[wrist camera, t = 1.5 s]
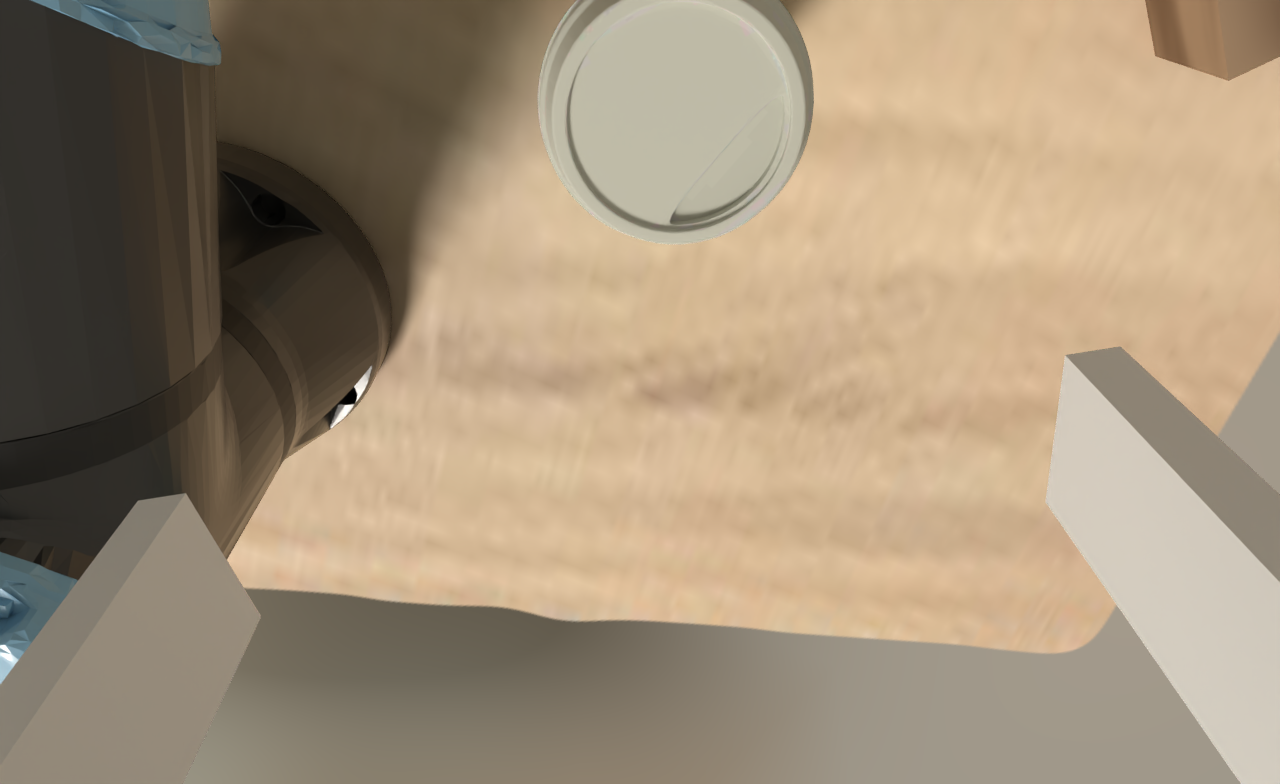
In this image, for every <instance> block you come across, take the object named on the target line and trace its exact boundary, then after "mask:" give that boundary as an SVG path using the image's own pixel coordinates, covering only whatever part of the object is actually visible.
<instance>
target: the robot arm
mask: <svg viewBox="0 0 1280 784" xmlns="http://www.w3.org/2000/svg"><path fill="white" fill-rule="evenodd" d="M219 64H221V48H220V43H219V41H218V40H217V39H216V38H215V37H214V35H213V34H212V29H211V20H210V11H209V2H208V0H0V784H183V783H184V781H185V778H186V776H187V774H188V772H189V770H190V768H191V765H192V763H193V761H194V759H195V757H196V754H197V753H198V750H199V748H200V746H201V744H202V742H203V740H204V738H205V736H206V733H207V731H208V729H209V727H210V725H211V723H212V721H213V718H214V716H215V714H216V712H217V710H218V708H219V706H220V703H221V701H222V699H223V697H224V695H225V693H226V691H227V688H228V686H229V684H230V682H231V680H232V678H233V676H234V674H235V671H236V669H237V667H238V665H239V663H240V661H241V659H242V656H243V654H244V652H245V650H246V648H247V646H248V643H249V641H250V639H251V637H252V635H253V633H254V631H255V629H256V626H257V624H258V622H259V620H260V618H261V616H260V614H259V612H258V611H257V609H256V607H255V606H254V604H253V602H252V601H251V599H250V598H249V596H248V594H247V593H246V591H245V589H244V588H243V586H242V584H241V583H240V581H239V579H238V578H237V576H236V575H235V573H234V571H233V570H232V568H231V566H230V565H229V563H228V561H227V558H228V557H229V555H230V553H231V551H232V550H233V548H234V546H235V544H236V543H237V541H238V539H239V537H240V536H241V534H242V532H243V530H244V529H245V527H246V525H247V523H248V522H249V520H250V518H251V516H252V515H253V513H254V511H255V510H256V508H257V506H258V504H259V503H260V501H261V499H262V497H263V496H264V494H265V492H266V490H267V489H268V487H269V485H270V483H271V482H272V480H273V478H274V476H275V474H276V472H277V471H278V469H279V467H280V466H281V464H282V462H283V461H284V460H285V459H286V458H288V457H289V456H291V455H292V454H294V453H295V452H297V451H298V450H300V449H301V448H303V447H304V446H306V445H307V444H309V443H310V442H312V441H313V440H315V439H316V438H318V437H319V436H321V435H322V434H324V433H325V432H327V431H328V430H330V429H331V428H333V427H334V426H335V425H337V424H338V423H339V422H341V421H342V420H343V419H344V418H345V417H347V416H348V415H349V414H350V413H351V412H352V411H353V410H354V408H355V407H356V406H357V405H358V404H359V403H360V401H361V400H362V399H363V397H364V396H365V394H366V393H367V391H368V390H369V388H370V386H371V384H372V382H373V380H374V378H375V376H376V374H377V372H378V370H379V368H380V366H381V364H382V362H383V360H384V357H385V355H386V352H387V349H388V345H389V340H390V334H391V322H392V315H391V303H390V296H389V291H388V287H387V283H386V280H385V277H384V274H383V271H382V269H381V266H380V264H379V262H378V259H377V257H376V255H375V253H374V251H373V250H372V248H371V246H370V244H369V243H368V241H367V239H366V238H365V236H364V235H363V233H362V232H361V231H360V229H359V228H358V227H357V225H356V224H355V223H354V221H353V220H352V219H351V218H350V217H349V215H348V214H347V213H346V212H345V211H344V210H343V209H342V208H341V207H340V206H339V205H338V204H337V203H336V202H335V201H334V200H333V199H332V198H331V197H330V196H329V195H328V194H326V193H325V192H324V191H323V190H321V189H320V188H319V187H318V186H317V185H315V184H314V183H312V182H311V181H310V180H308V179H307V178H305V177H304V176H302V175H301V174H299V173H297V172H296V171H294V170H293V169H291V168H289V167H287V166H285V165H284V164H282V163H280V162H278V161H276V160H273V159H271V158H269V157H267V156H264V155H262V154H259V153H257V152H254V151H251V150H248V149H245V148H242V147H238V146H234V145H230V144H226V143H220V142H216V103H215V65H219ZM1046 503H1047V505H1048V506H1049V508H1050V509H1051V511H1052V512H1053V514H1054V515H1055V516H1056V518H1057V519H1058V521H1059V522H1060V524H1061V525H1062V526H1063V528H1064V529H1065V531H1066V532H1067V534H1068V535H1069V537H1070V538H1071V539H1072V541H1073V542H1074V544H1075V545H1076V547H1077V548H1078V550H1079V551H1080V552H1081V554H1082V555H1083V557H1084V558H1085V560H1086V561H1087V563H1088V564H1089V565H1090V567H1091V568H1092V570H1093V571H1094V573H1095V574H1096V576H1097V577H1098V578H1099V580H1100V581H1101V583H1102V584H1103V586H1104V587H1105V589H1106V590H1107V591H1108V593H1109V594H1110V596H1111V597H1112V599H1113V600H1114V602H1115V603H1116V604H1117V606H1118V607H1119V609H1120V610H1121V612H1122V613H1123V614H1124V616H1125V617H1126V619H1127V620H1128V622H1129V623H1130V625H1131V626H1132V627H1133V629H1134V630H1135V632H1136V633H1137V635H1138V636H1139V638H1140V639H1141V640H1142V642H1143V643H1144V645H1145V646H1146V648H1147V649H1148V651H1149V652H1150V653H1151V655H1152V656H1153V658H1154V659H1155V661H1156V662H1157V663H1158V665H1159V666H1160V668H1161V669H1162V671H1163V672H1164V674H1165V675H1166V676H1167V678H1168V679H1169V681H1170V682H1171V684H1172V685H1173V687H1174V688H1175V690H1176V691H1177V692H1178V694H1179V695H1180V697H1181V698H1182V700H1183V701H1184V702H1185V704H1186V705H1187V707H1188V708H1189V710H1190V711H1191V713H1192V714H1193V715H1194V717H1195V718H1196V720H1197V721H1198V723H1199V724H1200V725H1201V727H1202V728H1203V730H1204V731H1205V733H1206V734H1207V735H1208V737H1209V738H1210V740H1211V741H1212V743H1213V744H1214V746H1215V747H1216V749H1217V750H1218V751H1219V753H1220V754H1221V756H1222V757H1223V759H1224V760H1225V762H1226V763H1227V765H1228V766H1229V767H1230V769H1231V770H1232V772H1233V773H1234V775H1235V776H1236V777H1237V779H1238V780H1239V782H1240V783H1241V784H1280V494H1279V493H1278V492H1277V491H1276V490H1274V489H1273V488H1272V487H1271V486H1270V485H1269V484H1268V483H1267V482H1266V481H1265V480H1264V479H1263V478H1261V477H1260V476H1259V475H1258V474H1257V473H1256V472H1255V471H1254V470H1253V469H1252V468H1251V467H1250V466H1249V465H1248V464H1246V463H1245V462H1244V461H1243V460H1242V459H1241V458H1240V457H1239V456H1238V455H1237V454H1236V453H1234V452H1233V451H1232V450H1231V449H1230V448H1229V447H1228V446H1227V445H1226V444H1225V443H1224V442H1223V441H1222V440H1221V439H1220V438H1218V437H1217V436H1216V435H1215V434H1214V433H1213V432H1212V431H1211V430H1210V429H1209V428H1208V427H1207V426H1206V425H1204V424H1203V423H1202V422H1201V421H1200V420H1199V419H1198V418H1197V417H1196V416H1195V415H1194V414H1193V413H1191V412H1190V411H1189V410H1188V409H1187V408H1186V407H1185V406H1184V405H1183V404H1182V403H1181V402H1180V401H1179V400H1177V399H1176V398H1175V397H1174V396H1173V395H1172V394H1171V393H1170V392H1169V391H1168V390H1167V389H1166V388H1165V387H1163V386H1162V385H1161V384H1160V383H1159V382H1158V381H1157V380H1156V379H1155V378H1154V377H1153V376H1152V375H1151V374H1149V373H1148V372H1147V371H1146V370H1145V369H1144V368H1143V367H1142V366H1141V365H1140V364H1139V363H1138V362H1137V361H1135V360H1134V359H1133V358H1132V357H1131V356H1130V355H1129V354H1128V353H1127V352H1126V351H1125V350H1124V349H1122V348H1121V347H1114V348H1108V349H1102V350H1095V351H1089V352H1083V353H1076V354H1070V355H1065V361H1064V368H1063V376H1062V383H1061V390H1060V398H1059V405H1058V413H1057V420H1056V428H1055V435H1054V443H1053V450H1052V458H1051V465H1050V473H1049V480H1048V488H1047V495H1046Z"/></svg>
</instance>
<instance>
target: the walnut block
mask: <svg viewBox="0 0 1280 784" xmlns="http://www.w3.org/2000/svg"><path fill="white" fill-rule="evenodd" d="M1145 1H1146V7H1147V12H1148V18H1149V23H1150V29H1151V34H1152V40H1153V45H1154V51H1155V56H1157V57H1160V58H1163V59H1166V60H1169V61H1172V62H1175V63H1178V64H1181V65H1184V66H1187V67H1190V68H1193V69H1196V70H1198V71H1201V72H1204V73H1207V74H1210V75H1213V76H1216V77H1219V78H1222V79H1225V80H1228V81H1229V80H1231V79H1233V78H1235V77H1237V76H1240V75H1242V74H1244V73H1246V72H1248V71H1250V70H1252V69H1254V68H1256V67H1259V66H1261V65H1263V64H1265V63H1267V62H1269V61H1271V60H1273V59H1276V58H1278V57H1280V0H1145Z"/></svg>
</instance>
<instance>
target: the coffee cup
mask: <svg viewBox="0 0 1280 784" xmlns="http://www.w3.org/2000/svg"><path fill="white" fill-rule="evenodd" d="M813 104H814V94H813V78H812V70H811V65H810V60H809V56H808V52H807V49H806V46H805V43H804V40H803V38H802V36H801V33H800V31H799V29H798V27H797V25H796V23H795V22H794V20H793V18H792V17H791V15H790V13H789V12H788V11H787V9H786V8H785V6H784V5H783V4H782V3H781V1H780V0H576V1H575V2H574V4H573V5H572V6H571V7H570V8H569V10H568V11H567V12H566V14H565V15H564V17H563V18H562V20H561V21H560V23H559V25H558V26H557V28H556V30H555V32H554V34H553V36H552V38H551V40H550V42H549V45H548V47H547V50H546V53H545V56H544V59H543V63H542V67H541V72H540V78H539V85H538V115H539V123H540V129H541V134H542V137H543V141H544V144H545V147H546V150H547V153H548V155H549V158H550V161H551V163H552V165H553V167H554V169H555V171H556V173H557V175H558V177H559V178H560V180H561V182H562V183H563V185H564V186H565V188H566V189H567V190H568V192H569V193H570V194H571V195H572V197H573V198H574V199H575V200H576V201H577V202H578V203H579V204H580V205H581V206H582V207H583V208H584V209H585V210H586V211H587V212H588V213H590V214H591V215H592V216H593V217H595V218H596V219H597V220H599V221H600V222H602V223H604V224H605V225H607V226H609V227H610V228H612V229H614V230H616V231H618V232H621V233H623V234H626V235H628V236H631V237H634V238H637V239H641V240H644V241H648V242H654V243H660V244H689V243H697V242H702V241H706V240H710V239H713V238H716V237H719V236H722V235H724V234H726V233H728V232H731V231H733V230H735V229H736V228H738V227H740V226H742V225H743V224H745V223H746V222H748V221H749V220H751V219H752V218H753V217H755V216H756V215H757V214H758V213H759V212H760V211H761V210H763V209H764V208H765V207H766V206H767V205H768V204H769V203H770V202H771V201H772V200H773V199H774V198H775V197H776V196H777V195H778V193H779V192H780V191H781V190H782V189H783V187H784V186H785V184H786V183H787V182H788V180H789V179H790V177H791V175H792V174H793V172H794V170H795V169H796V167H797V165H798V163H799V161H800V159H801V156H802V154H803V151H804V149H805V146H806V143H807V140H808V136H809V132H810V128H811V122H812V115H813Z"/></svg>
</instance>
